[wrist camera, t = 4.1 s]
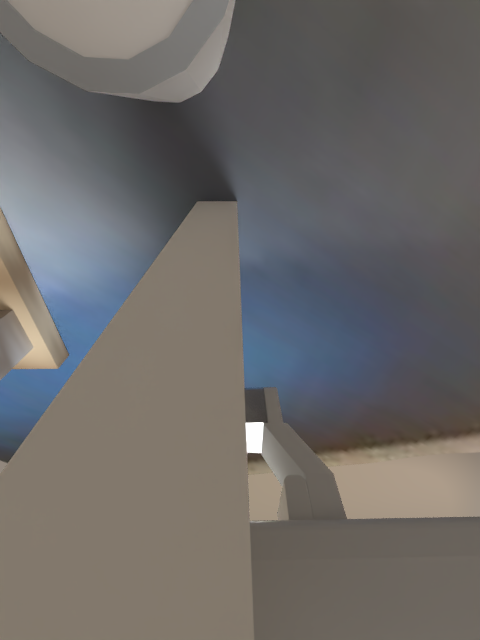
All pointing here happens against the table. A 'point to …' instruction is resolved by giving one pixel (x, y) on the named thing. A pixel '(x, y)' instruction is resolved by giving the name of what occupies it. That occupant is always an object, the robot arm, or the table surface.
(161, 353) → the rectangular slab
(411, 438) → the table surface
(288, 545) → the robot arm
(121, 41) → the white cup
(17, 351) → the peg board base
